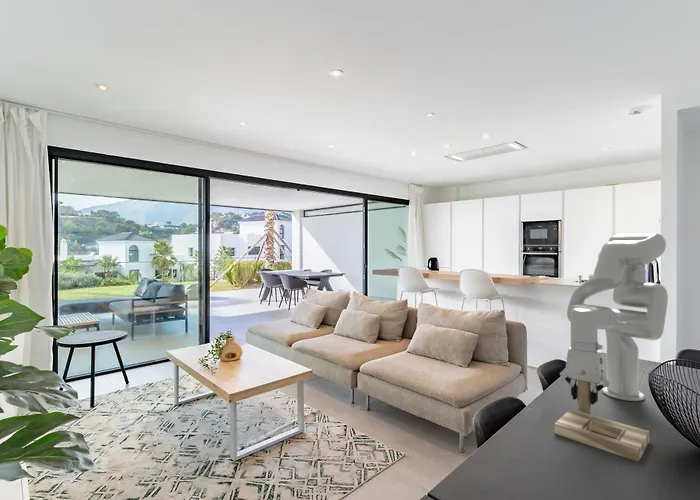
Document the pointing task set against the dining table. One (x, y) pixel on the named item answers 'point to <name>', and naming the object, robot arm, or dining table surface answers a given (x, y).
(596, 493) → the dining table surface
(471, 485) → the dining table surface
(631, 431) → the board
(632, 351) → the robot arm
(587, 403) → the handle
